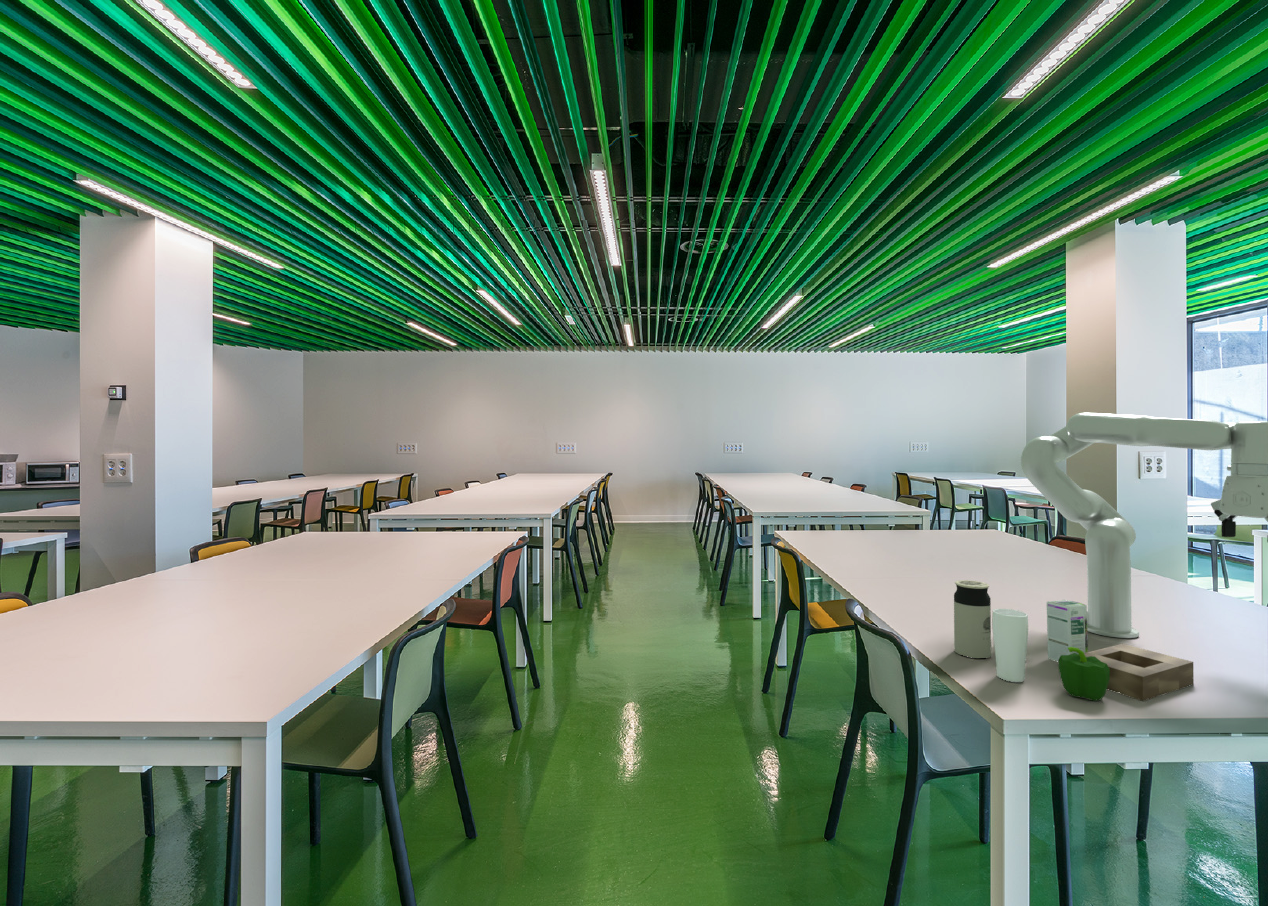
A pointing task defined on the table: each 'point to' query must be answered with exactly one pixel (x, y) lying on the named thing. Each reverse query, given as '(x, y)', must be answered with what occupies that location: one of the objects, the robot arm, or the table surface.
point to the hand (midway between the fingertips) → (1250, 540)
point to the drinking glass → (1010, 643)
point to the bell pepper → (1083, 675)
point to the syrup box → (1066, 628)
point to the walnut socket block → (1144, 671)
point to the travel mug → (972, 619)
